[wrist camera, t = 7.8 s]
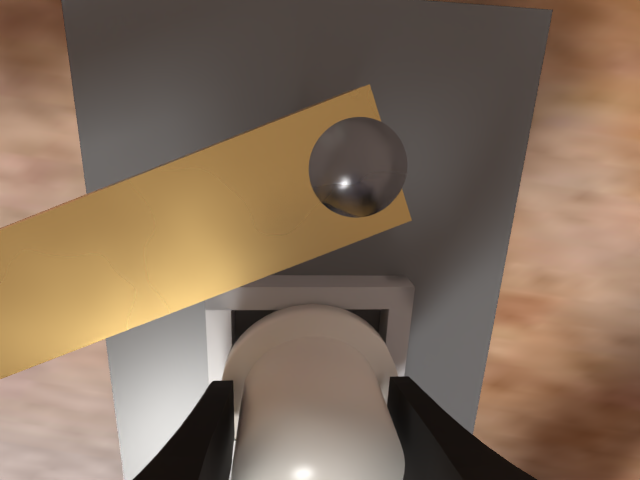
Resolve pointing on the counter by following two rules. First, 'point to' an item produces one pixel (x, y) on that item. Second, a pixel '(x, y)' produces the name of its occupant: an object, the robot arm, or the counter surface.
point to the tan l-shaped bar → (198, 227)
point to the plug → (313, 398)
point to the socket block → (288, 97)
